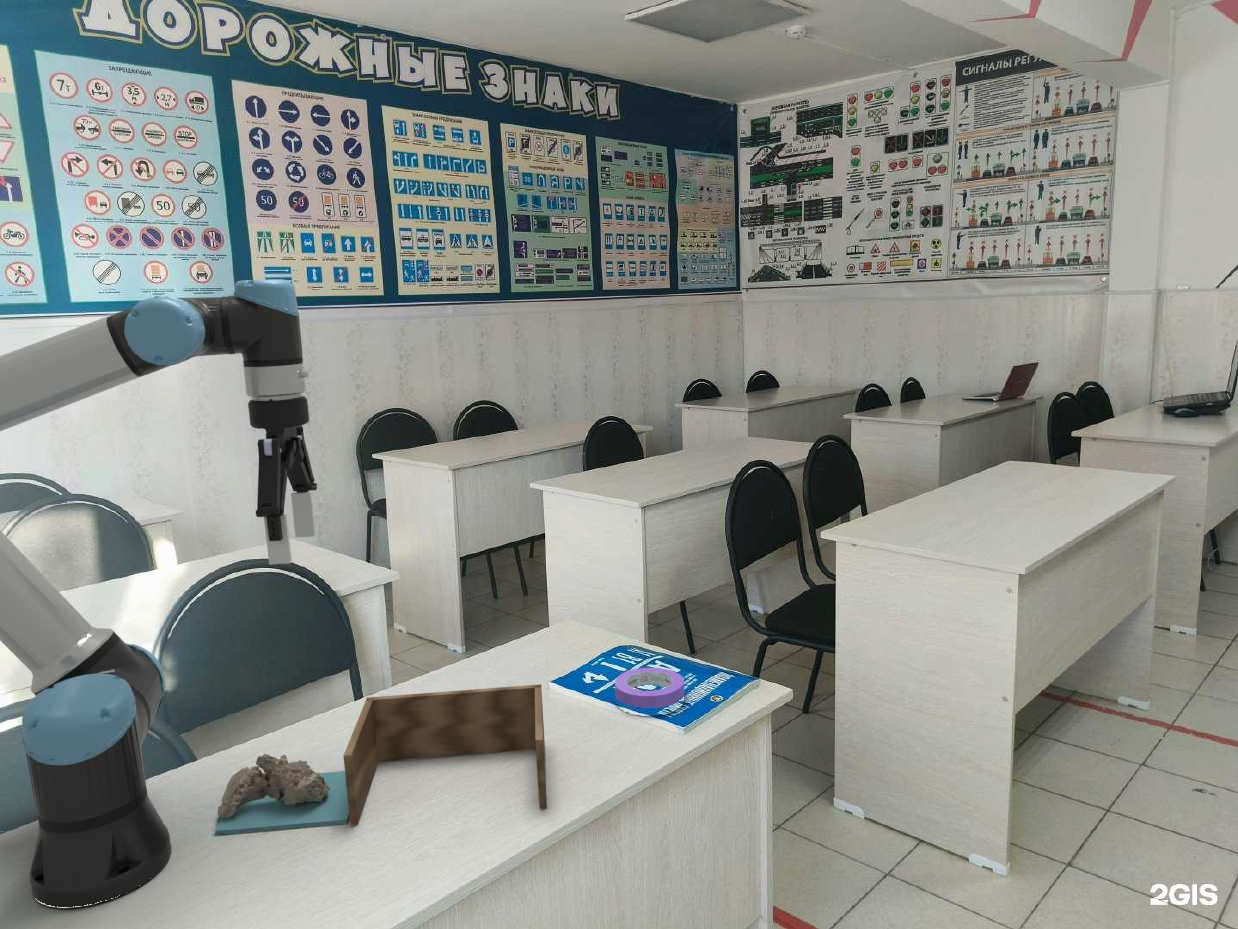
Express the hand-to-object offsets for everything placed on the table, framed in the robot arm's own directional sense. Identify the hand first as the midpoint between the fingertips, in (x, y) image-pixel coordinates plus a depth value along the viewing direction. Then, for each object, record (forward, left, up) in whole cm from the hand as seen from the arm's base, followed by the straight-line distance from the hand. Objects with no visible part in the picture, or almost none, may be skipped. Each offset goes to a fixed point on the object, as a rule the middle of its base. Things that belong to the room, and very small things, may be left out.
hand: (293, 549), depth 125 cm
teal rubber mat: (-2, -6, -35) cm, 35 cm away
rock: (-4, -8, -34) cm, 35 cm away
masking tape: (+51, +17, -35) cm, 64 cm away
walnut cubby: (+20, -4, -35) cm, 40 cm away
